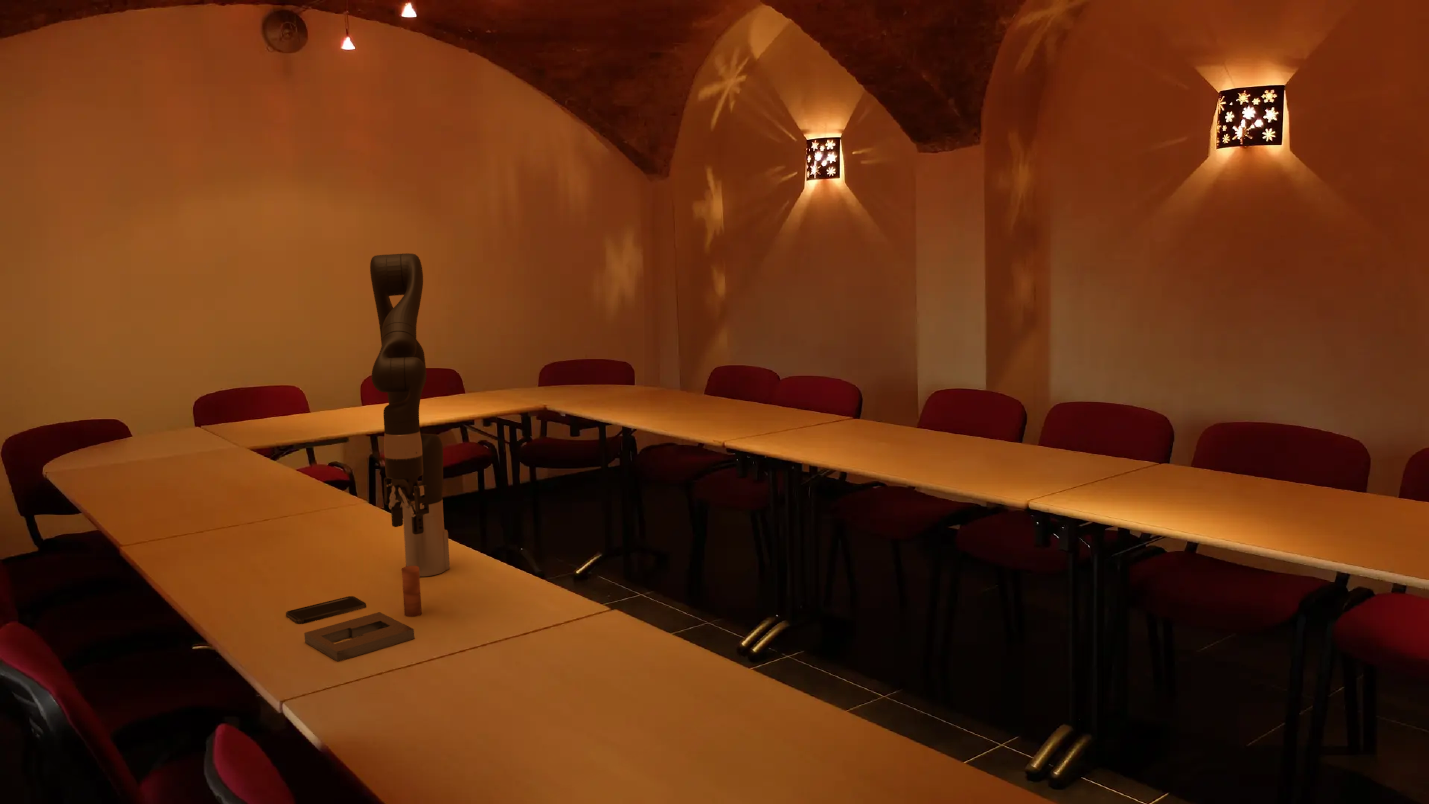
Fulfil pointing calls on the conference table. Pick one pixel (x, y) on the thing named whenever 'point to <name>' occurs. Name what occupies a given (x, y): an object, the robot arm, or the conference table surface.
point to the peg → (411, 591)
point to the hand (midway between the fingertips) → (407, 529)
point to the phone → (325, 610)
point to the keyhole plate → (371, 630)
